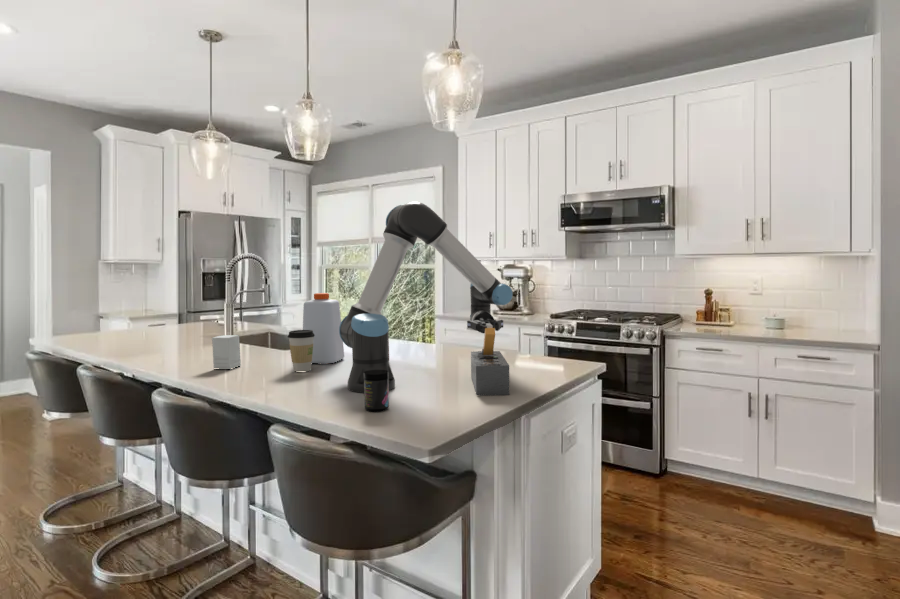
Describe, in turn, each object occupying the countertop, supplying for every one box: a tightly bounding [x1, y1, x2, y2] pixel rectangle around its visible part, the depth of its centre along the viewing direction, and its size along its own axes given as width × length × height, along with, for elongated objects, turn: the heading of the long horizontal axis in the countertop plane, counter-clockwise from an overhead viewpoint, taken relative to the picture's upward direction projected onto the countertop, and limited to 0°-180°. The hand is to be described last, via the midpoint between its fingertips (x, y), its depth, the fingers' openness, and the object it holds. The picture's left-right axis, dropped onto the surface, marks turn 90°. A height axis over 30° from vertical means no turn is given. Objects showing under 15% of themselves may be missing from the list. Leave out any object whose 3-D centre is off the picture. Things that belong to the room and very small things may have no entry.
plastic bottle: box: [302, 292, 345, 365], centre depth 223 cm, size 15×15×28 cm
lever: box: [481, 328, 496, 355], centre depth 174 cm, size 2×4×13 cm
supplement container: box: [363, 370, 390, 413], centre depth 149 cm, size 7×7×10 cm
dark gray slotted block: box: [470, 350, 510, 396], centre depth 183 cm, size 40×10×9 cm, turn 1°
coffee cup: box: [287, 329, 315, 372], centre depth 204 cm, size 10×10×15 cm
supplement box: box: [211, 334, 242, 369], centre depth 211 cm, size 7×7×13 cm
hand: (490, 330), depth 173 cm, fingers closed
